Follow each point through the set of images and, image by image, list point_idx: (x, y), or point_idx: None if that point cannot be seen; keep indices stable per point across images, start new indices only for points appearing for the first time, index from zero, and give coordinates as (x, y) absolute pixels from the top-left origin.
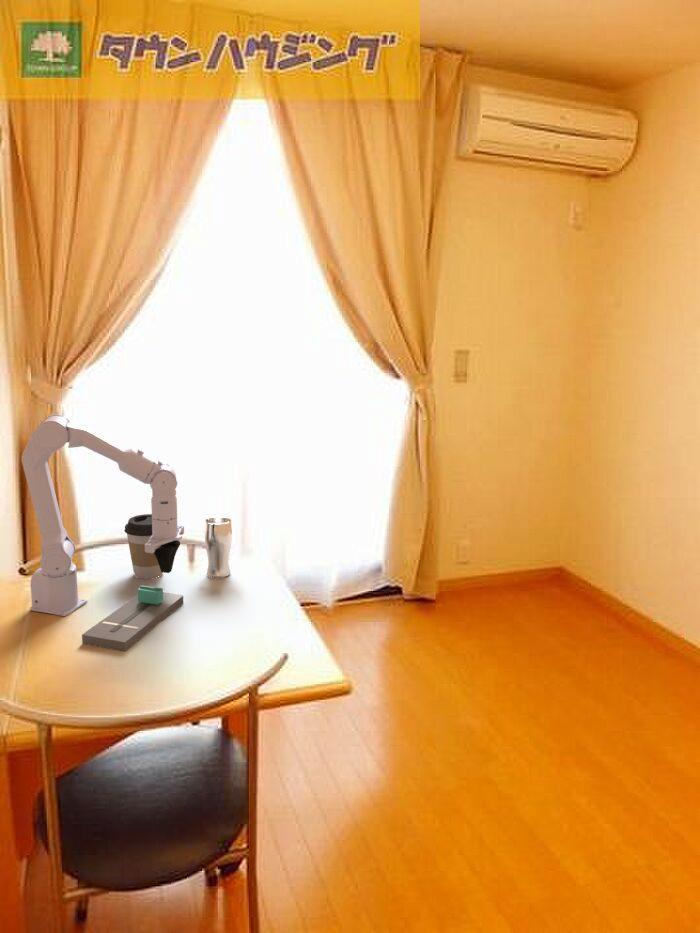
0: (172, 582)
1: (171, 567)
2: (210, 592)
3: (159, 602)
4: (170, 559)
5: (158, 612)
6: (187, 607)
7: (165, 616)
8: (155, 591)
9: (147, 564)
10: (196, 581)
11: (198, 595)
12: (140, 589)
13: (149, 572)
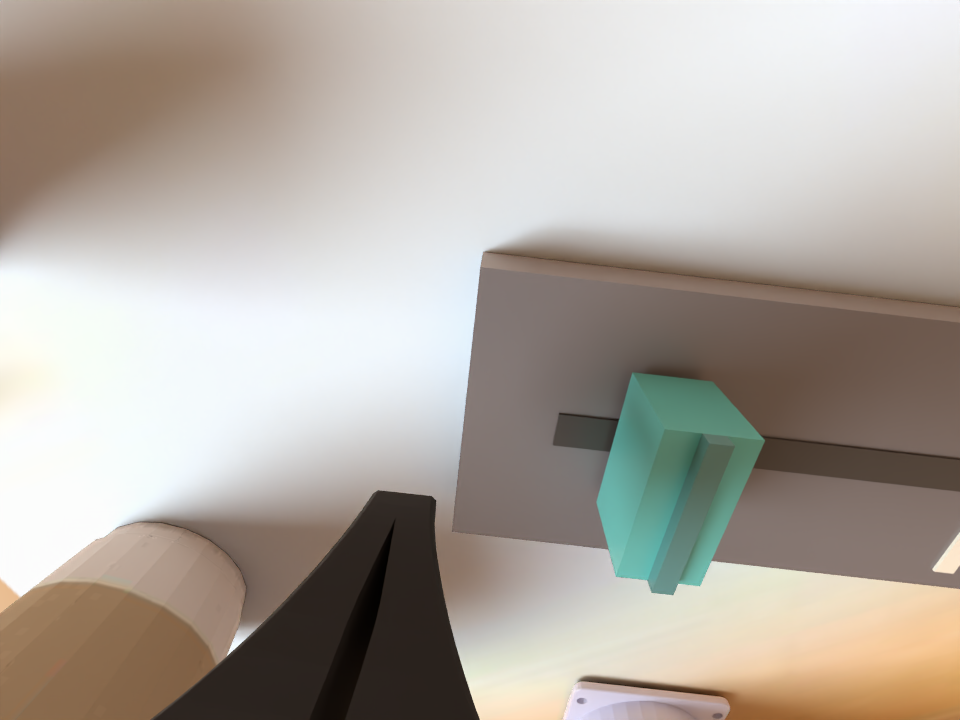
0: (206, 437)
1: (381, 519)
2: (228, 111)
3: (687, 381)
4: (412, 633)
5: (819, 331)
6: (545, 193)
7: (742, 284)
8: (744, 461)
9: (187, 649)
10: (109, 301)
11: (319, 191)
12: (700, 569)
13: (210, 590)
